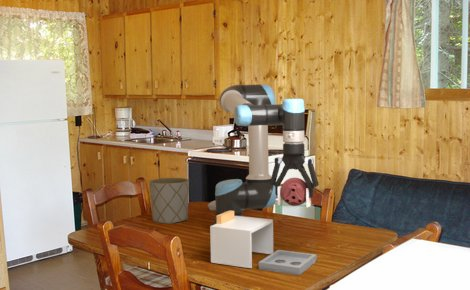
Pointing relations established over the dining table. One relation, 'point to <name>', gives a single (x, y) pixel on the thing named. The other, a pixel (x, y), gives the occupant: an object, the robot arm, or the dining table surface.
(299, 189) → the mechanical component
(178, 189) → the planter
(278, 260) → the grey shallow tray
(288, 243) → the dining table surface
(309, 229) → the dining table surface
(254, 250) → the white open cubby
